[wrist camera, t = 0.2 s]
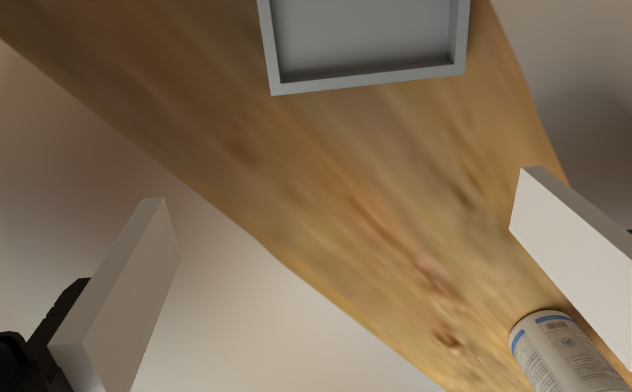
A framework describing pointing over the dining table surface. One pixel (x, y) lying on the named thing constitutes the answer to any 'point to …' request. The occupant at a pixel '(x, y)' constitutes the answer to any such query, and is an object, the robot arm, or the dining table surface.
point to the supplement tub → (561, 356)
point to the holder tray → (361, 42)
